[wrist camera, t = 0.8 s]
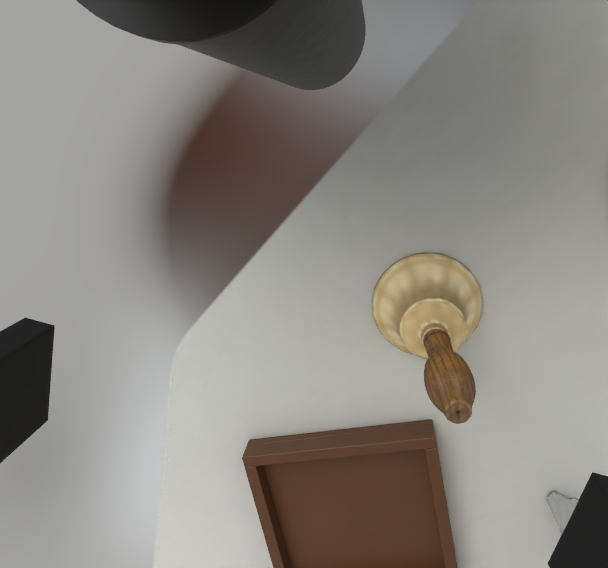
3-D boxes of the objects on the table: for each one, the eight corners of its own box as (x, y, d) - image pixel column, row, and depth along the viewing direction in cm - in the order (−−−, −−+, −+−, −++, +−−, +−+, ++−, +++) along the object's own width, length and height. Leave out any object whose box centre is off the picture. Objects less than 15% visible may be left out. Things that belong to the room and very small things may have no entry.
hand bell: (424, 230, 39) (451, 300, 24) (505, 301, 40) (582, 413, 24) (350, 308, 41) (332, 415, 26) (428, 373, 42) (454, 515, 27)
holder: (249, 439, 46) (241, 457, 44) (432, 419, 43) (435, 437, 41) (288, 582, 51) (284, 605, 48) (458, 572, 48) (462, 597, 45)
